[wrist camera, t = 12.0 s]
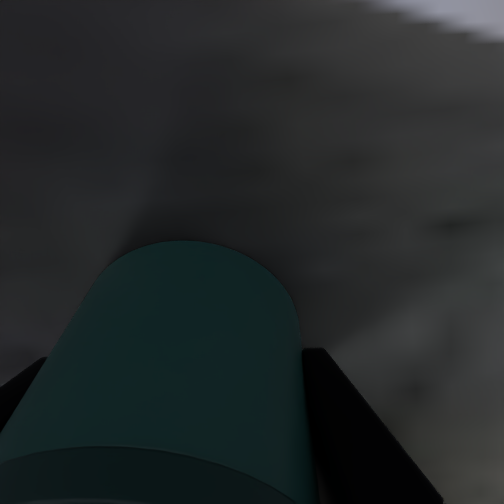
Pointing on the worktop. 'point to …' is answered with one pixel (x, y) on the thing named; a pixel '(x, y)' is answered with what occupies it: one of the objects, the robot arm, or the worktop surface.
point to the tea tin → (169, 391)
